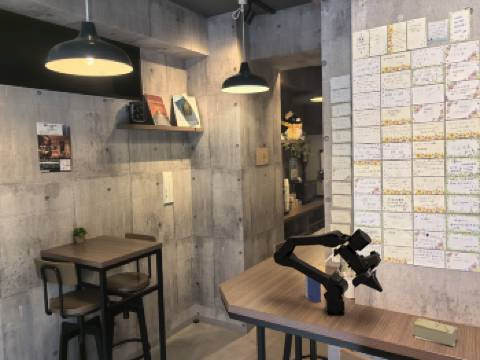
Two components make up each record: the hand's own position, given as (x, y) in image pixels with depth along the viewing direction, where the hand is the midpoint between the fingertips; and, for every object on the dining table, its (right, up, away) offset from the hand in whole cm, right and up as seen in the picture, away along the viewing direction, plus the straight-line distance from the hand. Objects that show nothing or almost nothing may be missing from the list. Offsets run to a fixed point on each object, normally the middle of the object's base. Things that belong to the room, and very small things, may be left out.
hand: (381, 291), depth 145 cm
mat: (+16, -12, -9) cm, 22 cm away
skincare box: (+9, -10, -8) cm, 16 cm away
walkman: (-21, -11, +24) cm, 34 cm away
